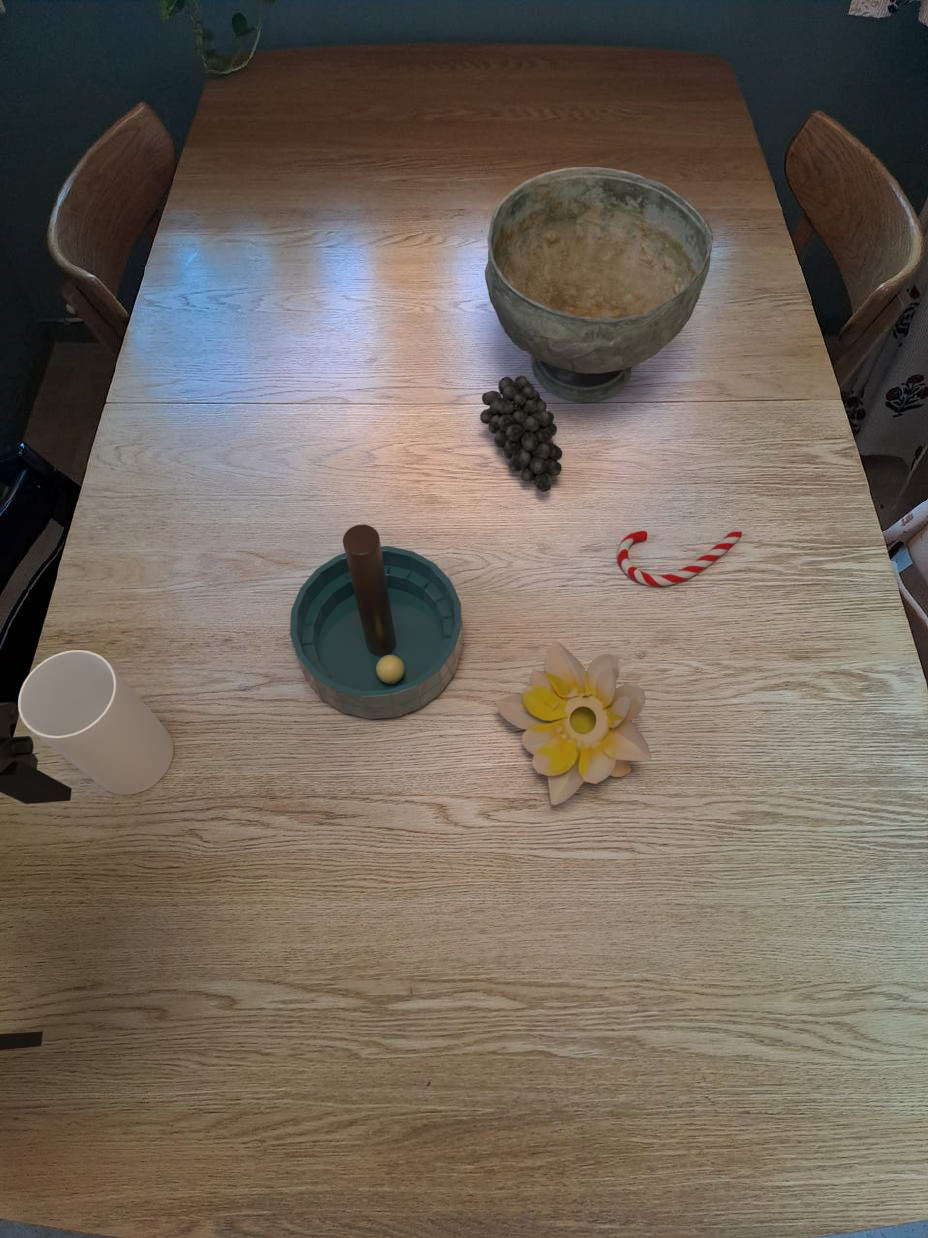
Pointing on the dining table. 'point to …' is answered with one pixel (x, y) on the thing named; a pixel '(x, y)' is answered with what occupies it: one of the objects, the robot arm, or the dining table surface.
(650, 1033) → the dining table surface
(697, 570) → the candy cane
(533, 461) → the fruit
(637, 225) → the decorative bowl
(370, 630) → the brown wooden dowel
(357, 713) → the teal bowl
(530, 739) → the decorative flower
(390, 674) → the bead
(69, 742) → the cup
